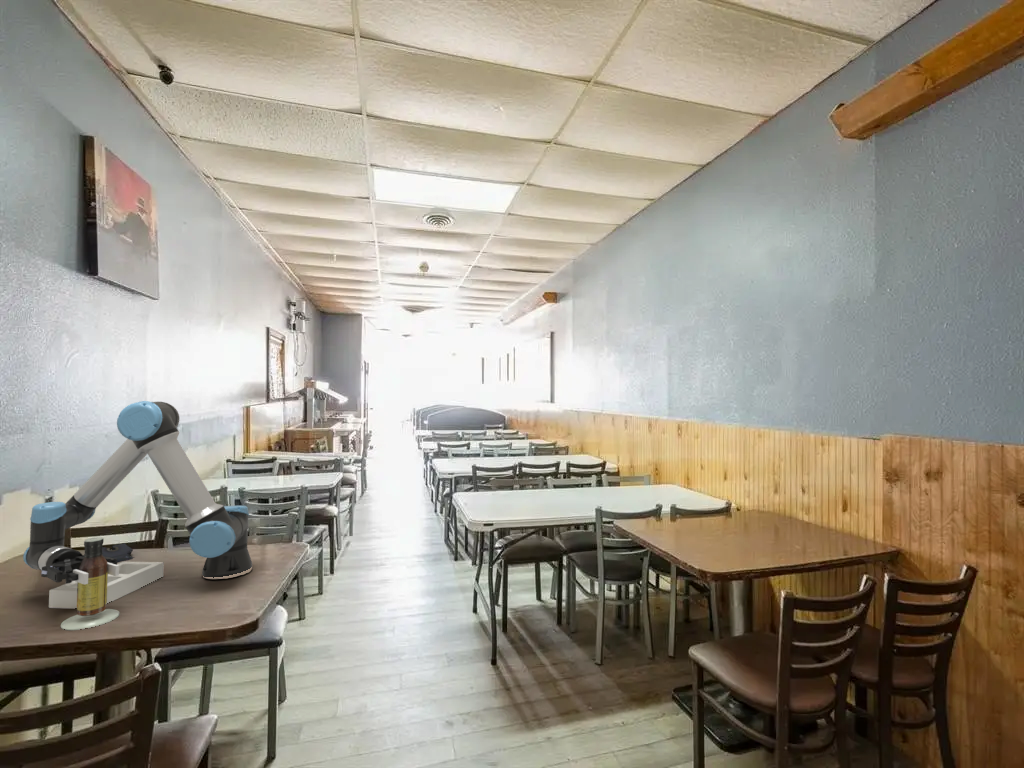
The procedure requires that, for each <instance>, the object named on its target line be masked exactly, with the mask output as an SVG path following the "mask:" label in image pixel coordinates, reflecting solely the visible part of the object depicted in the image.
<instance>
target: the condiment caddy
mask: <svg viewBox="0 0 1024 768" xmlns="http://www.w3.org/2000/svg"><path fill="white" fill-rule="evenodd" d="M117 565H119V576H113V575H110V574H108V579H107V603H108V604H110V603H112V602H114V601H116V600H118V599H121V598H122V597H125V596H127V595H129V594H131V593H133V592H135V591H137V590H139V589H141V587H142V588H143V586H144V587H145V585H146V586H148V585H150V584H152V583H154V582H156V581H158V580H157V579H159V578H161V577H163V578H164V570H165V569H164V567H165V566H164V565H165V561H164V562H163V561H122V562H118V563H117ZM161 579H162V578H161ZM155 580H156V581H155ZM159 580H160V579H159ZM153 581H154V582H153ZM151 582H152V583H151ZM149 583H150V584H149ZM77 584H78V582H76V581H72V582H71V583H68V584H66V583H64V584H62V585H60V586H57V587H54V588H51V589H49V594H48V595H49V597H48V609H75V608H77ZM147 584H148V585H147ZM111 601H112V602H111ZM109 602H110V603H109ZM107 603H106V605H107Z"/></svg>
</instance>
